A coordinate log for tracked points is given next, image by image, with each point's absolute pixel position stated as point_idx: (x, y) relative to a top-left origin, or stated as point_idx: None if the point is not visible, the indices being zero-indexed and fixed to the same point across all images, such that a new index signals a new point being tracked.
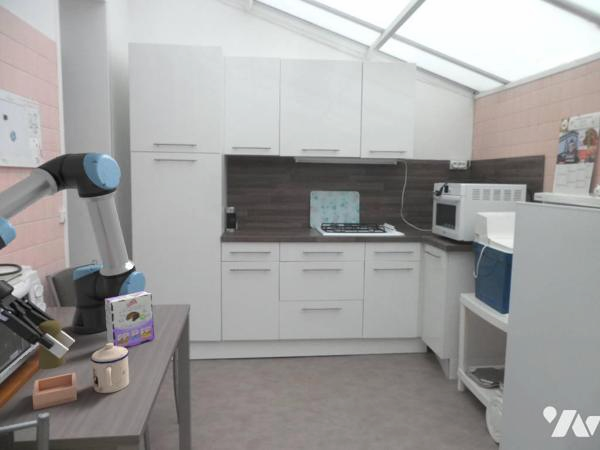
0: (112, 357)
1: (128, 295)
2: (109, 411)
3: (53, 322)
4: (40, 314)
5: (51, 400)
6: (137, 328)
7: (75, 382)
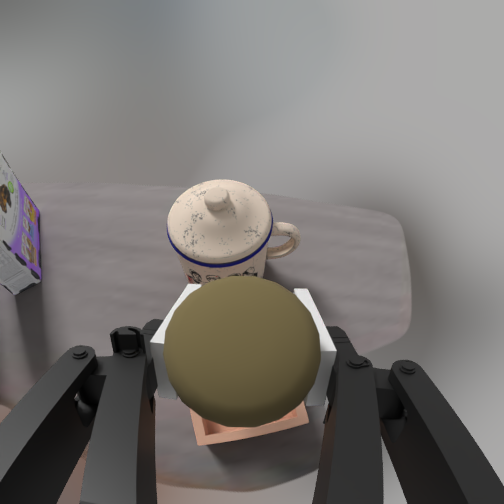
0: (263, 203)
1: None
2: (341, 259)
3: (262, 304)
4: (56, 426)
5: None
6: (21, 213)
7: None
